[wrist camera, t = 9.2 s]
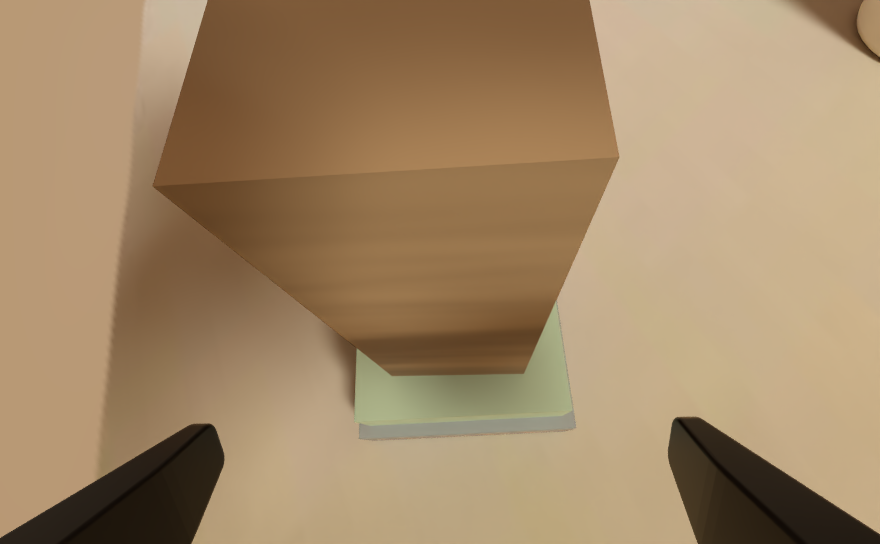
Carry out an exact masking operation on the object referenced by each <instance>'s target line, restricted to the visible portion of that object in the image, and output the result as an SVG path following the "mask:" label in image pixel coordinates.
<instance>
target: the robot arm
mask: <svg viewBox="0 0 880 544" xmlns="http://www.w3.org/2000/svg"><path fill="white" fill-rule="evenodd" d="M668 459H669V464H670V467H671V470H672V472H673V475H674V478H675V481H676V484H677V487H678V489H679V492H680V495H681V498H682V501H683V504H684V506H685V509H686V512H687V515H688V518H689V520H690V523H691V526H692V529H693V532H694V535H695V537H696V540H697V542H698V544H880V534H879V533H877V532H876V531H874V530H873V529H871V528H869V527H868V526H866V525H865V524H863V523H862V522H860V521H859V520H857V519H856V518H854V517H852V516H851V515H849V514H848V513H846V512H845V511H843V510H842V509H840V508H839V507H837V506H835V505H834V504H832V503H831V502H829V501H828V500H826V499H825V498H823V497H822V496H820V495H819V494H817V493H815V492H814V491H812V490H811V489H809V488H808V487H806V486H805V485H803V484H802V483H800V482H798V481H797V480H795V479H794V478H792V477H791V476H789V475H788V474H786V473H785V472H783V471H781V470H780V469H778V468H777V467H775V466H774V465H772V464H771V463H769V462H768V461H766V460H764V459H763V458H761V457H760V456H758V455H757V454H755V453H754V452H752V451H751V450H749V449H748V448H746V447H744V446H743V445H741V444H740V443H738V442H737V441H735V440H734V439H732V438H731V437H729V436H727V435H726V434H724V433H723V432H721V431H720V430H718V429H717V428H715V427H714V426H712V425H710V424H709V423H707V422H706V421H704V420H703V419H701V418H699V417H677V418H675V419H674V420H673V422H672V427H671V434H670V441H669V447H668ZM223 465H224V452H223V449H222V446H221V443H220V440H219V437H218V434H217V431H216V429H215V427H214V426H213V425H212V424H191V425H189V426H187V427H186V428H184V429H182V430H180V431H179V432H177V433H175V434H174V435H172V436H170V437H169V438H167V439H165V440H164V441H162V442H160V443H159V444H157V445H155V446H154V447H152V448H150V449H149V450H147V451H145V452H144V453H142V454H140V455H139V456H137V457H135V458H134V459H132V460H130V461H128V462H127V463H125V464H123V465H122V466H120V467H118V468H117V469H115V470H113V471H112V472H110V473H108V474H107V475H105V476H103V477H102V478H100V479H98V480H97V481H95V482H93V483H92V484H90V485H88V486H87V487H85V488H83V489H82V490H80V491H78V492H77V493H75V494H73V495H71V496H70V497H68V498H67V499H65V500H63V501H61V502H60V503H58V504H56V505H55V506H53V507H52V508H50V509H48V510H46V511H45V512H43V513H41V514H40V515H38V516H36V517H35V518H33V519H31V520H30V521H28V522H26V523H25V524H23V525H21V526H19V527H18V528H16V529H15V530H13V531H11V532H9V533H8V534H6V535H4V536H3V537H1V538H0V544H191V543H192V541H193V539H194V536H195V534H196V532H197V530H198V527H199V525H200V522H201V520H202V517H203V515H204V512H205V510H206V508H207V505H208V503H209V500H210V498H211V495H212V493H213V490H214V488H215V485H216V483H217V481H218V478H219V476H220V473H221V471H222V468H223Z"/></svg>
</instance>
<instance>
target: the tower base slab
mask: <svg viewBox="0 0 880 544" xmlns="http://www.w3.org/2000/svg"><path fill="white" fill-rule="evenodd" d="M556 304H557V300H556ZM557 311H558V305H557ZM558 317H559V312H558ZM559 324H560V318H559ZM560 331H561V325H560ZM561 337H562V331H561ZM562 344H563V338H562ZM563 350H564V344H563ZM564 357H565V351H564ZM565 363H566V357H565ZM566 370H567V364H566ZM567 376H568V370H567ZM568 383H569V377H568ZM569 389H570V383H569ZM570 396H571V390H570ZM571 402H572V396H571ZM572 409H573V403H572ZM572 429H576V422H575V416H574V409H573V411H571V412H569V413H567V414H565V415H563V416H552V417H532V418H513V419H494V420H475V421H455V422H436V423H417V424H397V425H378V426H369V425H365V424H361V423H359V439H364V440H373V441H375V440H395V439H416V438H436V437H456V436H477V435H497V434H518V433H538V432H558V431H568V430H572Z"/></svg>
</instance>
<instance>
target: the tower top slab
mask: <svg viewBox="0 0 880 544" xmlns="http://www.w3.org/2000/svg"><path fill="white" fill-rule="evenodd" d="M571 411H573V409H572V402H571V396H570V389H569V383H568V376H567V370H566V363H565V357H564V350H563V344H562V337H561V331H560V324H559V317H558V311H557V304H556V302H555V304H554V307H553V309H552V311H551V313H550V316H549V318H548V320H547V322H546V325H545V327H544V329H543V332H542V334H541V336H540V338H539V341H538V343H537V345H536V347H535V350H534V352H533V354H532V356H531V359H530V361H529V363H528V366H527V368H526V370H525V372H524V374H491V375H432V376H391V375H390V374H389V373H387V372H386V371H385V370H384V369H382V368H381V367H380V366H379V365H377V364H376V363H375V362H373V361H372V360H371V359H370V358H368V357H367V356H366V355H365V354H363V353H362V352H361V351H360V350H358V349H357V351H356V382H355V414H354V422H356V423H361V424H365V425H369V426H378V425H397V424H417V423H436V422H455V421H475V420H494V419H513V418H532V417H552V416H563V415H565V414H567V413H569V412H571Z"/></svg>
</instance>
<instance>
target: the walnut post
mask: <svg viewBox="0 0 880 544" xmlns="http://www.w3.org/2000/svg"><path fill="white" fill-rule="evenodd" d="M618 159H619V153H618V148H617V142H616V137H615V132H614V127H613V121H612V116H611V111H610V106H609V100H608V95H607V90H606V85H605V80H604V74H603V69H602V64H601V59H600V53H599V48H598V43H597V38H596V32H595V27H594V22H593V17H592V12H591V6H590V1H589V0H208V1H207V5H206V8H205V12H204V15H203V18H202V22H201V25H200V28H199V32H198V35H197V39H196V42H195V45H194V49H193V52H192V55H191V59H190V62H189V65H188V69H187V72H186V76H185V79H184V82H183V86H182V89H181V92H180V96H179V99H178V103H177V106H176V109H175V113H174V116H173V119H172V123H171V126H170V129H169V133H168V136H167V140H166V143H165V146H164V150H163V153H162V156H161V160H160V163H159V167H158V170H157V173H156V177H155V180H154V183H153V187H154V188H155V189H157V190H158V191H159V192H161V193H162V194H163V195H164V196H166V197H167V198H168V199H169V200H171V201H172V202H173V203H174V204H176V205H177V206H178V207H179V208H181V209H182V210H183V211H184V212H186V213H187V214H188V215H189V216H191V217H192V218H193V219H195V220H196V221H197V222H198V223H200V224H201V225H202V226H203V227H205V228H206V229H207V230H208V231H210V232H211V233H212V234H213V235H215V236H216V237H217V238H218V239H220V240H221V241H222V242H224V243H225V244H226V245H227V246H229V247H230V248H231V249H232V250H234V251H235V252H236V253H237V254H239V255H240V256H241V257H242V258H244V259H245V260H246V261H247V262H249V263H250V264H251V265H253V266H254V267H255V268H256V269H258V270H259V271H260V272H261V273H263V274H264V275H265V276H266V277H268V278H269V279H270V280H271V281H273V282H274V283H275V284H276V285H278V286H279V287H280V288H281V289H283V290H284V291H285V292H287V293H288V294H289V295H290V296H292V297H293V298H294V299H295V300H297V301H298V302H299V303H300V304H302V305H303V306H304V307H305V308H307V309H308V310H309V311H310V312H312V313H313V314H314V315H316V316H317V317H318V318H319V319H321V320H322V321H323V322H324V323H326V324H327V325H328V326H329V327H331V328H332V329H333V330H334V331H336V332H337V333H338V334H339V335H341V336H342V337H343V338H345V339H346V340H347V341H348V342H350V343H351V344H352V345H353V346H355V347H356V348H357V349H358V350H360V351H361V352H362V353H363V354H365V355H366V356H367V357H368V358H370V359H371V360H372V361H373V362H375V363H376V364H377V365H379V366H380V367H381V368H382V369H384V370H385V371H386V372H387V373H389V374H390V375H391V376H432V375H491V374H524V372H525V370H526V368H527V366H528V363H529V361H530V359H531V356H532V354H533V352H534V350H535V347H536V345H537V343H538V341H539V338H540V336H541V334H542V332H543V329H544V327H545V325H546V322H547V320H548V318H549V316H550V313H551V311H552V309H553V307H554V304H555V302H556V300H557V297H558V295H559V293H560V291H561V288H562V286H563V284H564V282H565V279H566V277H567V275H568V273H569V270H570V268H571V266H572V263H573V261H574V259H575V257H576V254H577V252H578V250H579V248H580V245H581V243H582V241H583V238H584V236H585V234H586V232H587V229H588V227H589V225H590V223H591V220H592V218H593V216H594V214H595V211H596V209H597V207H598V204H599V202H600V200H601V198H602V195H603V193H604V191H605V189H606V186H607V184H608V182H609V179H610V177H611V175H612V173H613V170H614V168H615V166H616V164H617V161H618Z"/></svg>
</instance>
